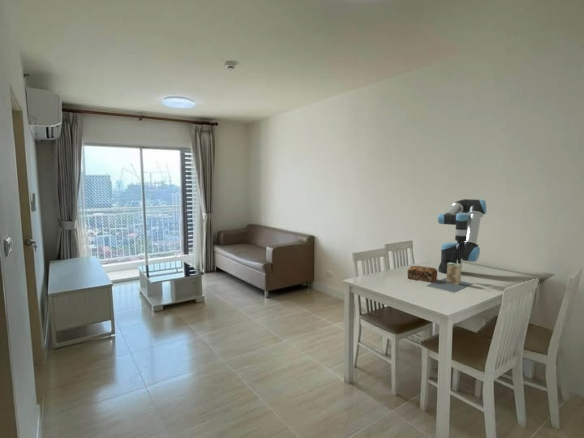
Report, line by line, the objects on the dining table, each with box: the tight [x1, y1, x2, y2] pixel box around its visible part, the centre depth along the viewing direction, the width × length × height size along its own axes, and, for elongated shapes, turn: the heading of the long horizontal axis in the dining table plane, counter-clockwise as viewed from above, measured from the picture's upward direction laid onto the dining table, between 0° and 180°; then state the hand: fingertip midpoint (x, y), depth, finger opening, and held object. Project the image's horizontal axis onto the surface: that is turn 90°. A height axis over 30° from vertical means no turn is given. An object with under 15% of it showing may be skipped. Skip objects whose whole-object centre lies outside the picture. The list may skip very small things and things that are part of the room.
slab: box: [446, 263, 462, 285], centre depth 238 cm, size 8×4×14 cm, turn 39°
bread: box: [407, 265, 438, 283], centre depth 250 cm, size 19×11×10 cm, turn 44°
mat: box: [425, 277, 473, 294], centre depth 236 cm, size 20×28×1 cm
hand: (459, 267), depth 243 cm, fingers closed
